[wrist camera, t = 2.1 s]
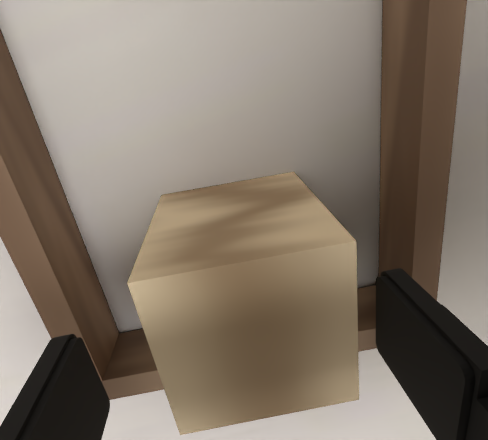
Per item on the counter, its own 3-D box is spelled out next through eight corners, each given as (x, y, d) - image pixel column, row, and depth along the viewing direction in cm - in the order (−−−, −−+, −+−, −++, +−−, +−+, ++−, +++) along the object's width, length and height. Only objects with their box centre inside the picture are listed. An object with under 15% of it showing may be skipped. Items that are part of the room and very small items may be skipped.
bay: (425, -279, 10) (508, -413, 7) (399, 298, 18) (432, 337, 16) (-136, -202, 9) (-276, -316, 7) (103, 354, 18) (84, 404, 15)
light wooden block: (294, 171, 15) (358, 240, 9) (304, 281, 18) (360, 399, 11) (160, 194, 15) (125, 283, 9) (189, 302, 17) (178, 435, 11)
